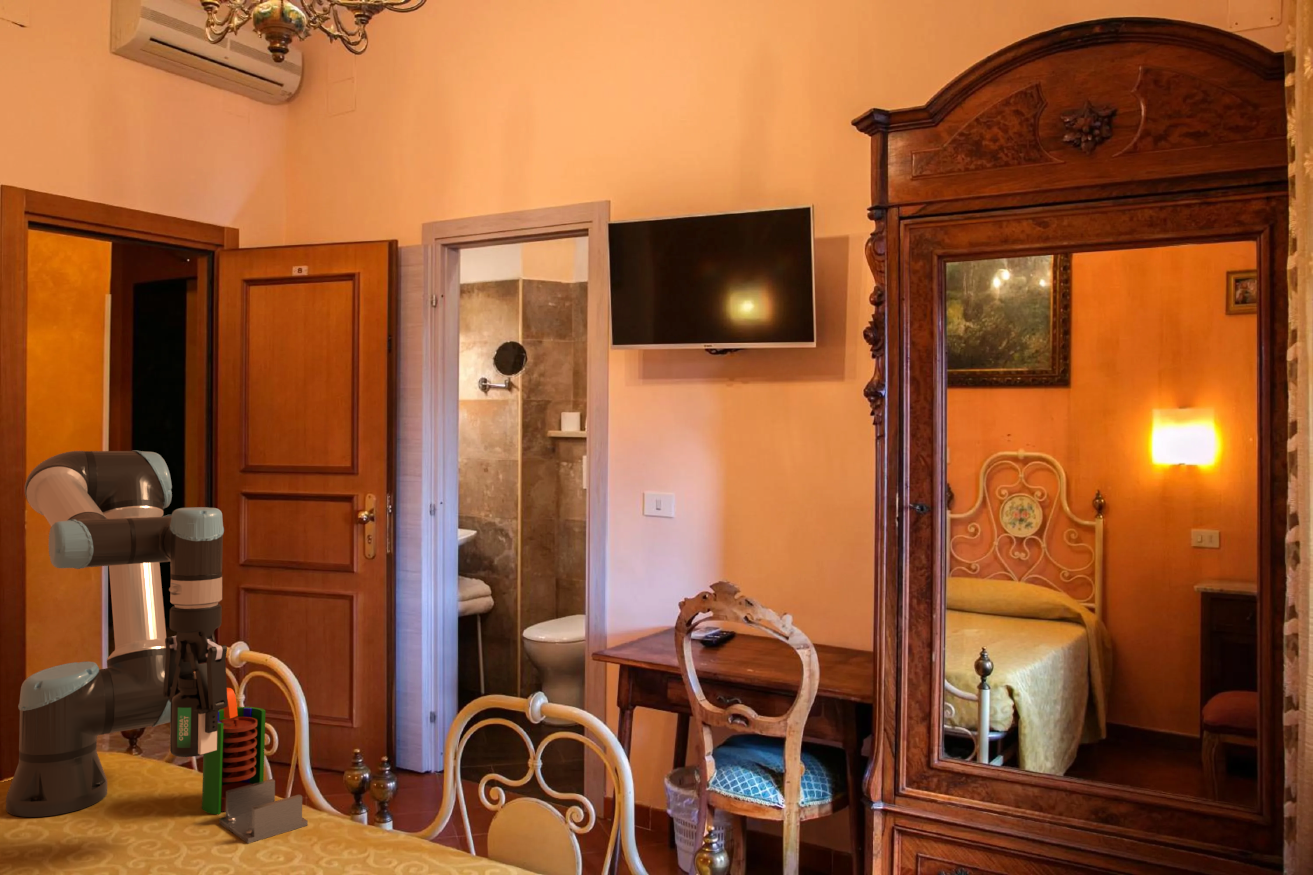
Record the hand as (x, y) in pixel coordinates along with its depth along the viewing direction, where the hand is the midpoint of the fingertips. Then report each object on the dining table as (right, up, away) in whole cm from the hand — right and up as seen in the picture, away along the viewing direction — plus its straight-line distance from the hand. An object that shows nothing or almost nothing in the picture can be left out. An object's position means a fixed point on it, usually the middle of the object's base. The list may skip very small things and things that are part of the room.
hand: (194, 746), depth 152 cm
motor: (-1, -15, +16) cm, 22 cm away
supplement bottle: (0, -1, 0) cm, 1 cm away
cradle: (+8, -15, +7) cm, 19 cm away
